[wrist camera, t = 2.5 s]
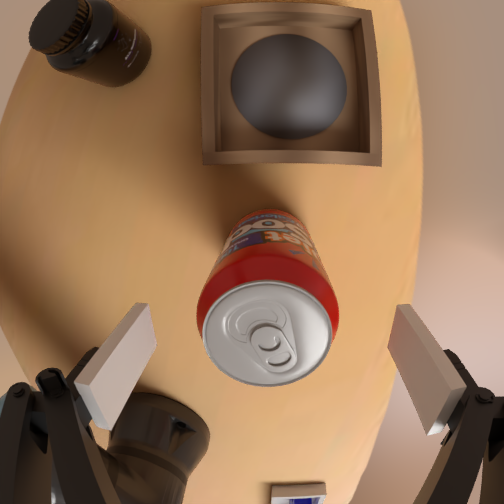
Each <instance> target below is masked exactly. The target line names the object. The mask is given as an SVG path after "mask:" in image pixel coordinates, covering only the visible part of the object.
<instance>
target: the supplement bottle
mask: <svg viewBox="0 0 504 504" xmlns="http://www.w3.org/2000/svg"><path fill="white" fill-rule="evenodd" d="M29 42H30V45H31V46H32V48H33V49H35V50H37V51H39V52H42V53H43V54H45V55H46V57H47V60H48V62H49V64H50V65H51V66H52V67H53V68H54V69H55V70H57V71H60V72H63V73H66V74H69V75H72V76H75V77H79V78H82V79H85V80H88V81H91V82H94V83H97V84H100V85H103V86H106V87H119V86H123V85H125V84H128V83H130V82H131V81H133V80H134V79H135V78H137V77H138V76H139V75H140V74H141V73H142V71H143V70H144V69H145V67H146V66H147V64H148V62H149V59H150V56H151V42H150V39H149V37H148V36H147V34H146V33H145V32H144V31H143V30H142V29H141V28H140V27H138V26H137V25H136V24H135V23H134V22H133V21H131V20H130V19H129V18H128V17H127V16H126V15H124V14H123V13H122V12H121V11H120V10H118V9H117V8H116V7H115V6H114V5H112V4H111V3H109V2H108V1H106V0H50V1H49V2H48V3H47V4H46V5H45V6H44V7H43V8H42V9H41V10H40V11H39V12H38V14H37V16H36V17H35V19H34V21H33V22H32V26H31V28H30V31H29Z"/></svg>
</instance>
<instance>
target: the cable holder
mask: <svg viewBox="0 0 504 504" xmlns="http://www.w3.org/2000/svg"><path fill="white" fill-rule="evenodd" d="M289 504H312V498H298V499H290V500H289Z"/></svg>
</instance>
